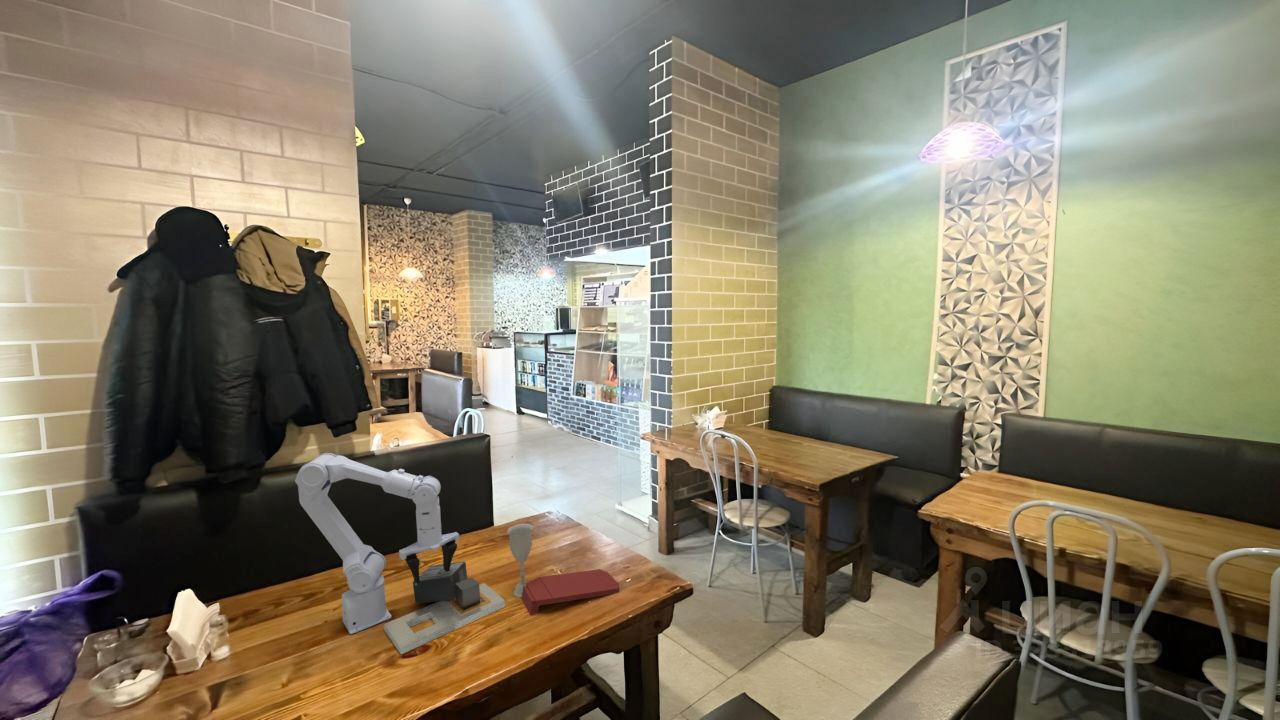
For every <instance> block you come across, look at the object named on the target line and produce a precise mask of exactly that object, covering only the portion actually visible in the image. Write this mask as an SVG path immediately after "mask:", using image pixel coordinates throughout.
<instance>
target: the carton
mask: <svg viewBox="0 0 1280 720" xmlns="http://www.w3.org/2000/svg"><path fill="white" fill-rule="evenodd" d="M527 582H528V583H526V586H523V592H522V597H521V602H522V603H523V605H524V607H525V609H526V611H527V612H528V614H529V616H530V617H531V616H533V615H537V614H539V607H540V606H542V605H543V606H544V605H550V604H557V603H563V602H564V603H565V602H570V601H576V600H584V599H589V598H590V599H591V598H595V597H600V596H601V597H603V596H608V595H613V594H616V593H617V594H618V593H619V592H618V591H619V582H618V581H616V579H615V578H614V577H613V576H612V575H611V574H610V573H609V572H607V571H605V570H603V569H600V568H598V569H591V570H583V571H577V572H576V571H575V572H568V573H559V574H553V575H551V574H550V575H545V576H544V575H543V576H539V577H536V578H534V579H532V580H531V581H527Z"/></svg>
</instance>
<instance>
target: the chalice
mask: <svg viewBox="0 0 1280 720" xmlns="http://www.w3.org/2000/svg"><path fill="white" fill-rule="evenodd" d="M533 529H534V526H533V525H532V524H530V523H518V524H515V525H513V526H510V527H509V528H508V529H507V533H508V535H509V550H510V551H511V553H512V556H513V558H514V559H515V561H516V562H517V563H518V564H519V569H518V570H519V572H520V574H519V575H518V576H519V577H520V581H519V582H517V584H516V585H515V588H514V591H513V595H514V596H515V597H516V598H522V592H523V586H526V583H528V582H529V581H526V580H525V577H526V573H525V572H524V571H525V569H526V568H525V565H524V564H525V562H526V561H527V560H528V557H529V556H530V553H531V550H532V546H533V543H532V541H533V538H532V532H533Z"/></svg>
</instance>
